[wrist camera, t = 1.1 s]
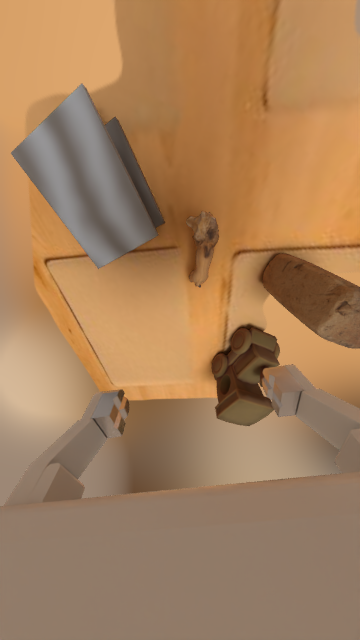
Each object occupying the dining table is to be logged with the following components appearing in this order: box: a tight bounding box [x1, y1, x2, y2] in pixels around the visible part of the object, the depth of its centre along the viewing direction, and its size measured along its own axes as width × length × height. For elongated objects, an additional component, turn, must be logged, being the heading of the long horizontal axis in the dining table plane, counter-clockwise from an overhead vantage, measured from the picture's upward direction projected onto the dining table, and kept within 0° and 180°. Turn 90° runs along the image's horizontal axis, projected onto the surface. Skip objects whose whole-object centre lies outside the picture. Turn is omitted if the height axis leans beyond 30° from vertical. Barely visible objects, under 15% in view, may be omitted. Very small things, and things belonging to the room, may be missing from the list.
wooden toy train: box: [212, 327, 280, 426], centre depth 42 cm, size 20×11×17 cm, turn 156°
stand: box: [11, 84, 165, 269], centre depth 26 cm, size 14×16×8 cm
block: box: [262, 253, 360, 348], centre depth 27 cm, size 11×8×20 cm
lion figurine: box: [186, 211, 219, 287], centre depth 30 cm, size 15×5×9 cm, turn 4°
